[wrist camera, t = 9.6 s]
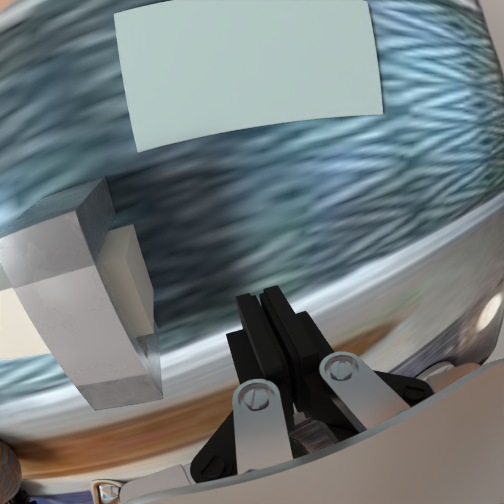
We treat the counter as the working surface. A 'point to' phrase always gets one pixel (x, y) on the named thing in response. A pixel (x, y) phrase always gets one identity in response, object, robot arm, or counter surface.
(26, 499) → the figurine
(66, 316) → the housing
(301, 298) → the counter surface
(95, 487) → the beer glass
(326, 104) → the mat
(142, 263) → the plug
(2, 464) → the vase
